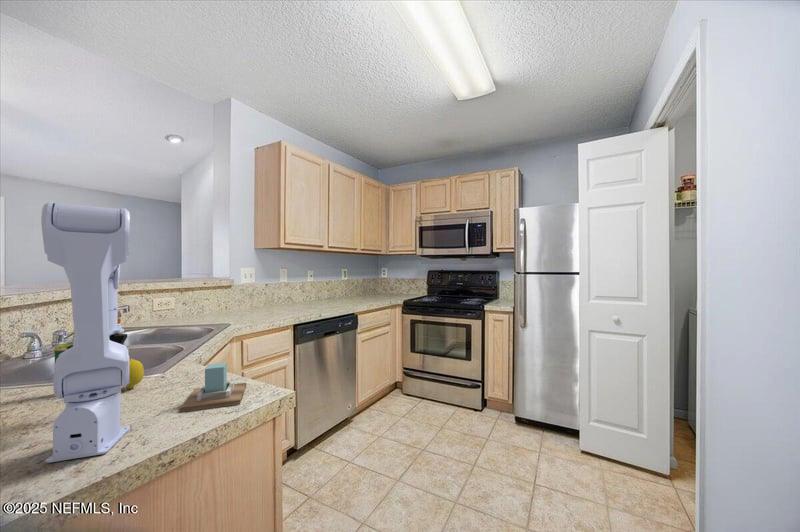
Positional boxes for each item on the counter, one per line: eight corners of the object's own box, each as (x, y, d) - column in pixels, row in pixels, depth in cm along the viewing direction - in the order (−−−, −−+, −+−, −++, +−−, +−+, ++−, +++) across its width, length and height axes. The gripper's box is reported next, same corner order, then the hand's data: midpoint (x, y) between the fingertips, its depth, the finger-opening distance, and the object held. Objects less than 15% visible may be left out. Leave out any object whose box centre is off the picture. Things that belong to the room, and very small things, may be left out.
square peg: (223, 396, 77) (223, 367, 77) (204, 398, 75) (204, 369, 75) (226, 390, 80) (226, 362, 80) (208, 392, 79) (208, 364, 79)
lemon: (149, 385, 87) (149, 356, 87) (130, 393, 81) (130, 362, 81) (130, 384, 87) (130, 355, 87) (110, 392, 82) (110, 361, 82)
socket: (240, 404, 74) (240, 393, 74) (180, 412, 70) (180, 401, 70) (246, 386, 86) (246, 377, 86) (195, 392, 82) (195, 382, 82)
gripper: (105, 313, 63) (104, 381, 63) (137, 305, 77) (137, 361, 77) (59, 315, 61) (58, 386, 61) (100, 307, 75) (100, 364, 74)
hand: (99, 372), depth 69 cm, fingers open, 7 cm apart
